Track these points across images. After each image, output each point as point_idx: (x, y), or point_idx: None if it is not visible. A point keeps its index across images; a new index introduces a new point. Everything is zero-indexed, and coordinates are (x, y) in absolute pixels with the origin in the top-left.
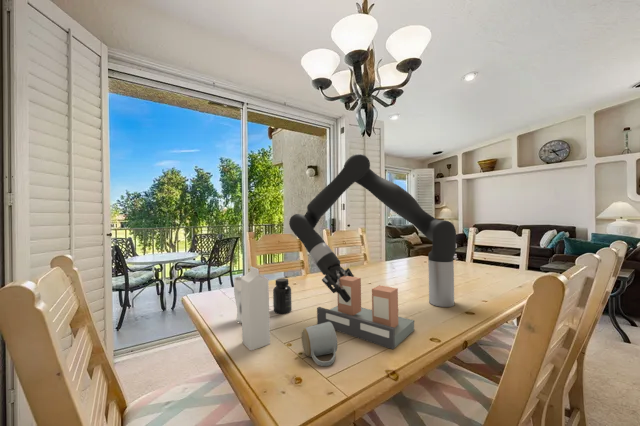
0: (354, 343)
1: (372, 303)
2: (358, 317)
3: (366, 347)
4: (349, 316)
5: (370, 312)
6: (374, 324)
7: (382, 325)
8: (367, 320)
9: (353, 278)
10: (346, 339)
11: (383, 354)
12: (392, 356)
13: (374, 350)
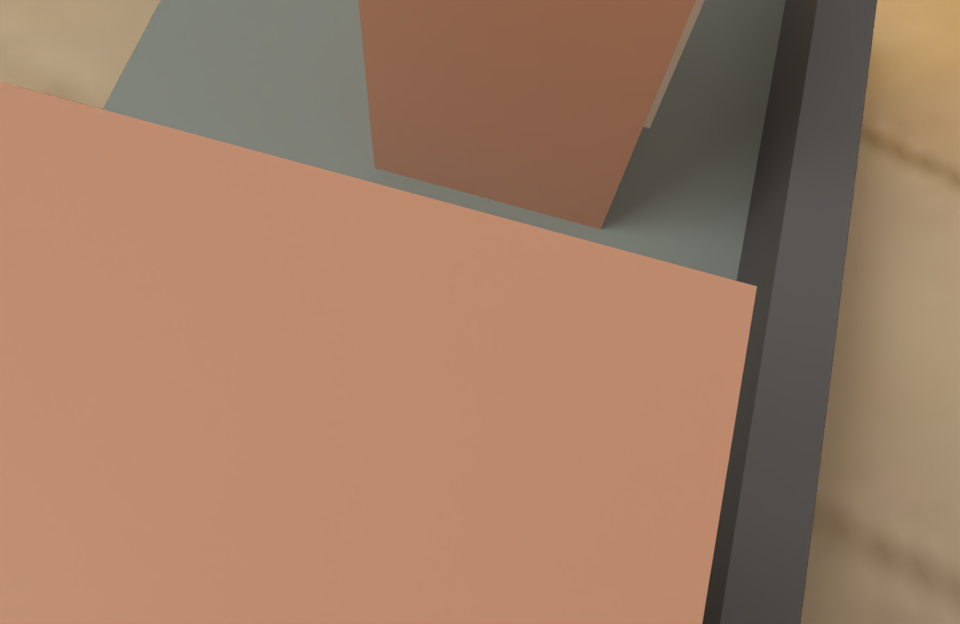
0: (878, 433)
1: (693, 5)
2: None
3: (888, 287)
4: (788, 528)
5: None
6: (861, 99)
7: (848, 4)
8: (796, 204)
9: (20, 424)
10: (838, 561)
11: (922, 119)
12: (910, 50)
13: (900, 203)
